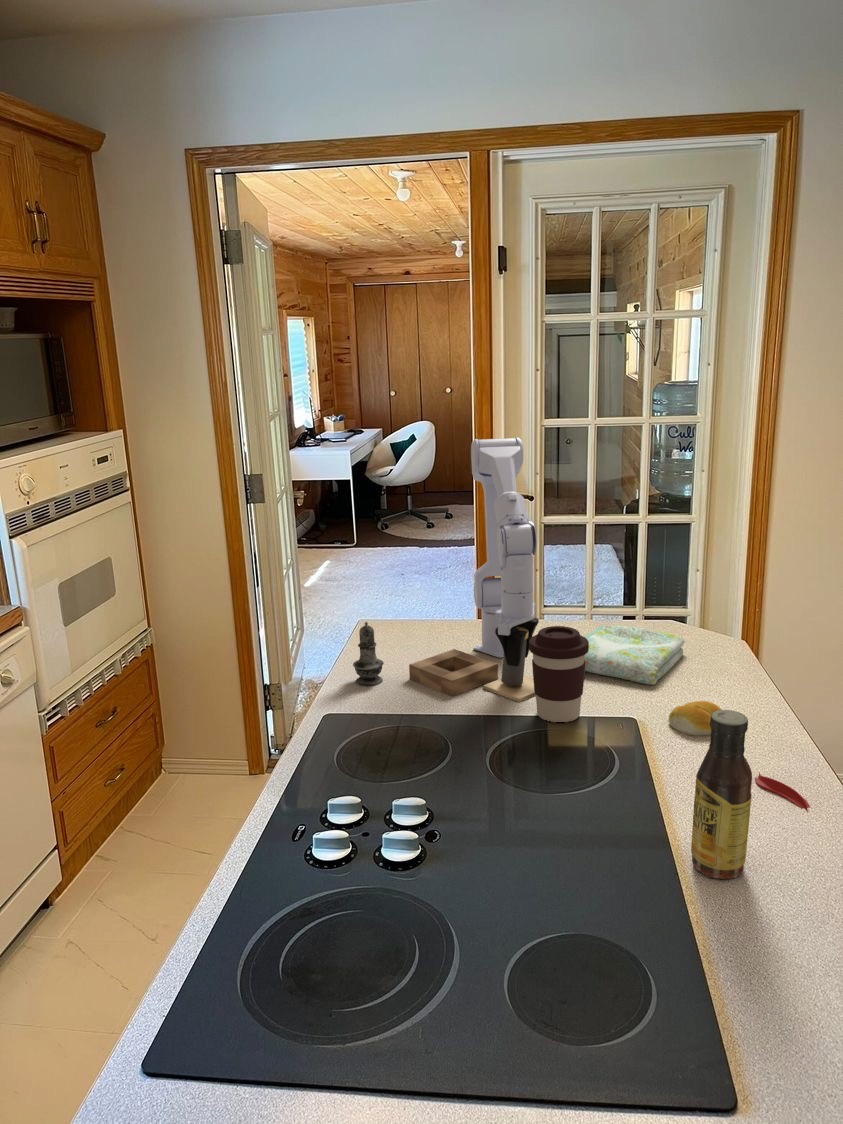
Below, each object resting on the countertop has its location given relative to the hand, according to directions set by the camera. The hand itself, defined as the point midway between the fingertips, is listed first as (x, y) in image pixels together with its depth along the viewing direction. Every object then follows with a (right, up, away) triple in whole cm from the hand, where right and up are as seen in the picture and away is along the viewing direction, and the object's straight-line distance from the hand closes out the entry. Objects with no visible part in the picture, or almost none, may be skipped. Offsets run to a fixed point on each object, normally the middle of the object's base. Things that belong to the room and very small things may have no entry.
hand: (517, 660), depth 157 cm
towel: (+23, -2, +13) cm, 27 cm away
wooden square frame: (-12, -4, +7) cm, 14 cm away
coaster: (0, -5, +1) cm, 5 cm away
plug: (-1, -4, +1) cm, 4 cm away
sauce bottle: (+18, -19, -55) cm, 61 cm away
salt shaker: (-28, -5, +7) cm, 29 cm away
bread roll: (+28, -9, -16) cm, 34 cm away
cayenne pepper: (+32, -15, -38) cm, 52 cm away
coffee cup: (+6, -8, -11) cm, 15 cm away
